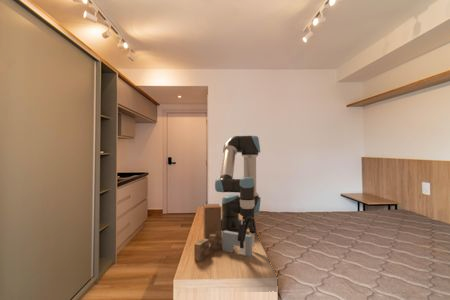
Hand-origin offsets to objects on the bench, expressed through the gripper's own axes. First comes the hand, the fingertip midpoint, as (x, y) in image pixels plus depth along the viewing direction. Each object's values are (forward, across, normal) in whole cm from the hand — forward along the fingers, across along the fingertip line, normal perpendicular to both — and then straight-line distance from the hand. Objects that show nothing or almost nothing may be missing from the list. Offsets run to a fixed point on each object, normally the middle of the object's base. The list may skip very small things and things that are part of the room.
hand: (247, 249), depth 119 cm
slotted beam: (+3, +7, -19) cm, 20 cm away
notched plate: (+3, 0, -6) cm, 7 cm away
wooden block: (+3, -12, -29) cm, 32 cm away
